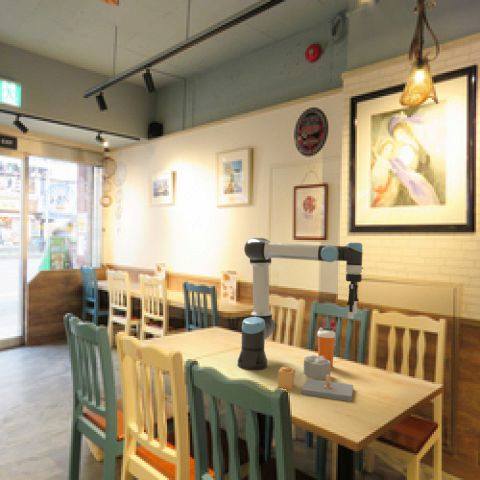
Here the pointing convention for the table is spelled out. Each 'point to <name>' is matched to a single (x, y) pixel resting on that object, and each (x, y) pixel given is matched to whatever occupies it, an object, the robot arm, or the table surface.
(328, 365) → the lumpy-topped squat cylinder
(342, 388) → the plate
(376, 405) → the table surface
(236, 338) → the table surface
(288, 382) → the tan hollow block
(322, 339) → the shaker bottle
